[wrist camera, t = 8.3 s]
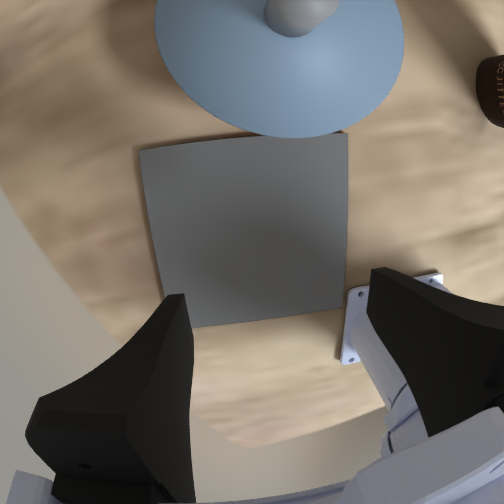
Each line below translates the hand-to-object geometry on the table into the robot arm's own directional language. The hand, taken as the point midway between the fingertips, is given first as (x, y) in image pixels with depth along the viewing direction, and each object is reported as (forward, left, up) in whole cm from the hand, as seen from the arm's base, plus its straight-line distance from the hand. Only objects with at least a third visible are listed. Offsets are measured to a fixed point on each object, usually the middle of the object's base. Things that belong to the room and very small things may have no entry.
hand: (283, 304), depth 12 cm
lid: (-2, -12, -6) cm, 14 cm away
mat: (0, +1, -10) cm, 10 cm away
